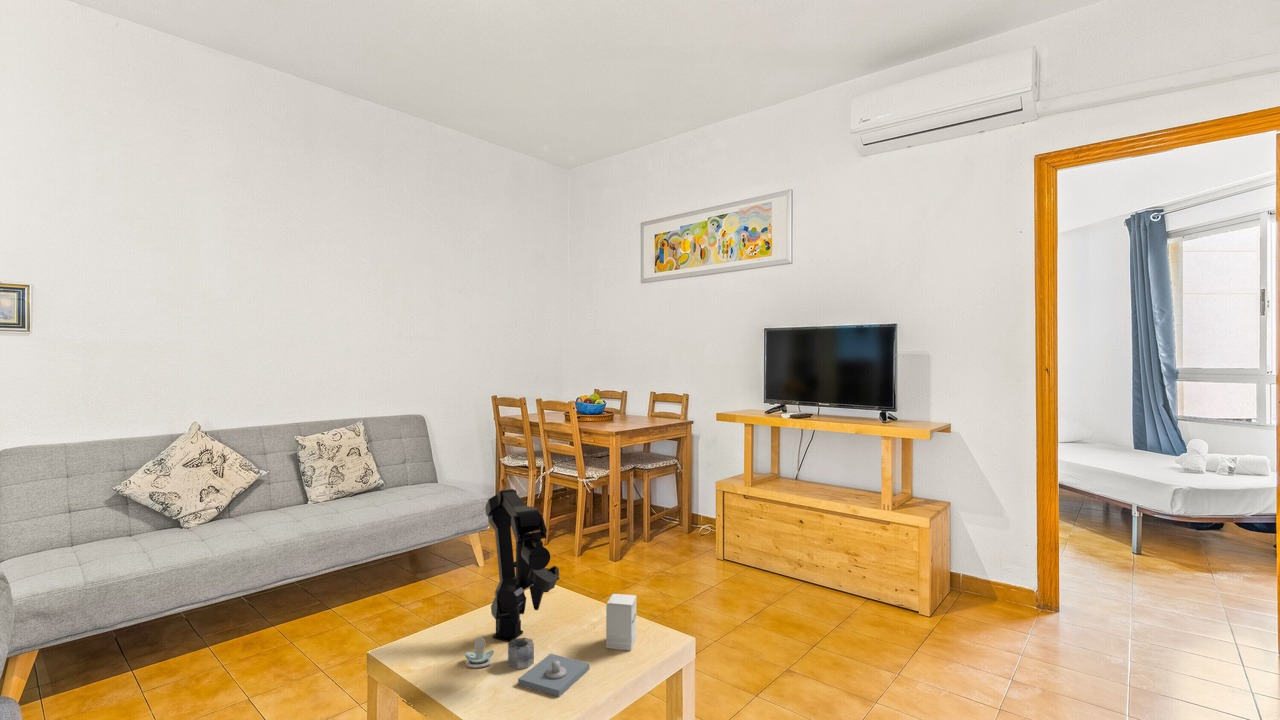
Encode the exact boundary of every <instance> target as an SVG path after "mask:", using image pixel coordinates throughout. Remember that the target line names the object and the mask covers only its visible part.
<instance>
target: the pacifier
mask: <svg viewBox="0 0 1280 720" xmlns="http://www.w3.org/2000/svg"><path fill="white" fill-rule="evenodd" d="M473 647H474V650H475V652H472V651H471V652H470V651H469V652H465V658H466V659H467V660H468V661H467V662H466V663H465V665H466V666H467V667H468V668H472V669H473V668H474V669H479V668H484V667H487V666H490V665H491V664H492V660H491V657H492V656H493V655H494V654H495V651H494V650H489V651H486V652H485V648H486V640H485V639H484V637H481V636H480V637H477V638H475V640H474V641H473Z"/></svg>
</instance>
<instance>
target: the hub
mask: <svg viewBox="0 0 1280 720" xmlns="http://www.w3.org/2000/svg"><path fill="white" fill-rule="evenodd" d="M507 664H508V667H509V668H510V669H514V670H522V669H528V668H530V667H531V666H532V665H534V664H535V644H534V641H533V639H532V638H527V637H520V638H519V637H518V638H515V639H513V640H512V641H510V642H508V643H507Z"/></svg>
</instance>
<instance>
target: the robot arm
mask: <svg viewBox="0 0 1280 720" xmlns="http://www.w3.org/2000/svg"><path fill="white" fill-rule="evenodd" d="M485 515H486V517H487V520H488V523H489V524H490V526H491V527H492V528H493V530H494V533H495V534H494V535H495V546H496V555H497V566H498V567H497V568H498V577H499V582H498V584H497V586H496V588H495V590H494V591H495V592H494V599H493V601H492V603H491V605H490V609H491V613H490V614H491V616H492V617H493V618H494V619H495V633H494V634H492V635H491V637H492V638H493V639H497V640H501V641H504V642H508V643H509V642H511V641H512V640H514V639H517V638H519V636H520V635H522V634H523V633H524V630H522V627H521V626H522V624H521V623H522V620H521V619H520V617H521V615H524V614H525V611H526V603H527V596H526V594H525V591H526V590H527V589H529V593H530V598H531V602H532V607H533V609H534V611H539V608H540V605H541V603H542V598H543V595H544V594H545V593H549V591H551V590H552V589H554V588H555V586H556V583H557V582H558V581H559V580H560V569H559V567H558V566H556V565H553V566H551V567H550V568H548V567H547V566H548V565H549V563H550V561H551V554H550V551H549V549H547V548H546V547H545V546H544V542H543V541H542V540H543V539H547V532H548V530H547V525H546V523H545V519H544V517H543V515H542V512H540V510H539V509H538V508H536V507H535V506H528V505H527V504H526V503H525V501H523V500H522V498H521V497H520V496H519V495H518V493H517V490H516V489H513V488H509V489H501V490H499V491H497V493H496V494H495V495H494V496H491V497H490V498H489V499H488V501H487V502H486V504H485ZM512 533H513V536H514V539H515V558H514V549H513V540H512ZM514 559H515V560H514Z"/></svg>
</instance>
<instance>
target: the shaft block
mask: <svg viewBox="0 0 1280 720" xmlns="http://www.w3.org/2000/svg"><path fill="white" fill-rule="evenodd" d="M589 670H590V662H585V661H582V660H576V659H573V658H570V657H565V656H563V655H558V654H554V653H550V654H548V655H547V656H546V657H544V658H543V659H542V660H540V661H539V662H538V663H536V664H535V665H534V666H533V667H531V668H530V669H529V670H528V671H526V672H525V673H524V674H522V675H521V676H520V677H519V678H517V681H518V682H517V685H518V686H521V687H525V688H527V689H531V690H534V691H538V692H541V693H545V694H547V695H551V696H555V697H559V698H560V697H561V696H562V695H563V694H564V693H566V691H567V690H569V689H570V687H571V688H572V686H573V685H574V684H575V683H576V682H577V681H579V679H580V678H582V677H583V676H584V675H585V674H586V673H587V672H588V671H589Z"/></svg>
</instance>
